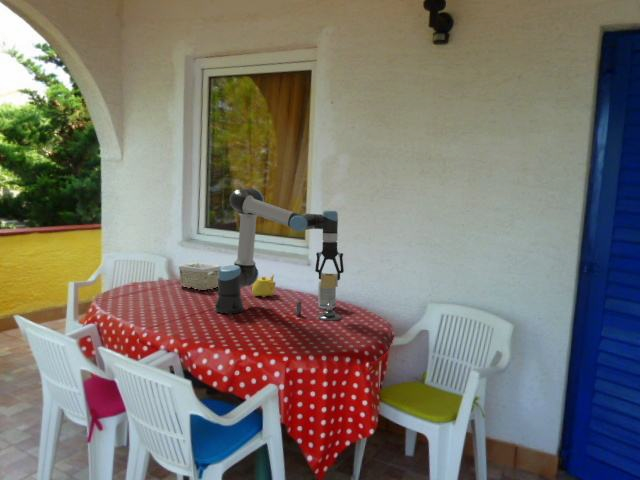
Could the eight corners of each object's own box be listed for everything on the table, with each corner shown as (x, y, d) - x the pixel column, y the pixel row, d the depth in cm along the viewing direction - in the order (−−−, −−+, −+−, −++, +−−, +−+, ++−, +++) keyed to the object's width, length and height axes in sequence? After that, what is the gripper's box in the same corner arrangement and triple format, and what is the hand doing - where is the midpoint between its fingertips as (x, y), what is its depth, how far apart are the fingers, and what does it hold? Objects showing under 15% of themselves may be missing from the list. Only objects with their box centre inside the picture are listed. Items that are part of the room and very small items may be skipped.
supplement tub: (338, 308, 271) (339, 282, 270) (324, 310, 266) (325, 283, 264) (328, 304, 279) (329, 279, 278) (314, 306, 274) (315, 280, 272)
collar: (321, 287, 247) (321, 275, 247) (323, 284, 254) (323, 273, 254) (335, 288, 246) (335, 276, 246) (336, 285, 253) (337, 273, 253)
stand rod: (296, 316, 254) (296, 301, 253) (297, 314, 256) (297, 300, 255) (300, 316, 253) (301, 302, 252) (301, 315, 256) (301, 301, 255)
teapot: (277, 298, 291) (278, 278, 290) (253, 299, 288) (253, 279, 286) (274, 292, 305) (274, 274, 303) (251, 293, 301) (251, 274, 300)
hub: (316, 319, 247) (316, 306, 247) (319, 313, 259) (319, 300, 258) (339, 321, 246) (340, 307, 245) (342, 315, 258) (342, 302, 257)
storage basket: (177, 287, 315) (177, 264, 313) (197, 283, 328) (196, 261, 327) (203, 292, 302) (203, 269, 300) (222, 288, 315) (222, 265, 313)
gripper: (309, 241, 245) (308, 286, 248) (349, 242, 243) (348, 288, 245) (311, 239, 253) (311, 283, 256) (350, 241, 250) (349, 285, 253)
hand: (329, 285), depth 250 cm, fingers closed on collar, 7 cm apart
